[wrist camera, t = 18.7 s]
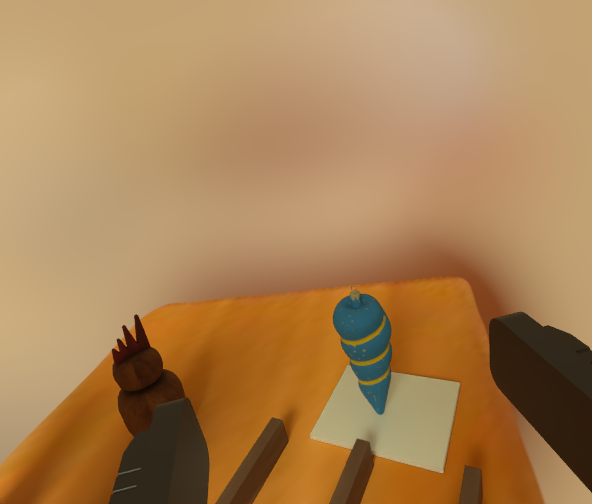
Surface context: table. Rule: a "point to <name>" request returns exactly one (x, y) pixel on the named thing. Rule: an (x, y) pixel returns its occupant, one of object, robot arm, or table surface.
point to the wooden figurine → (142, 380)
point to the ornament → (366, 344)
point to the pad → (393, 419)
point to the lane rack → (351, 483)
